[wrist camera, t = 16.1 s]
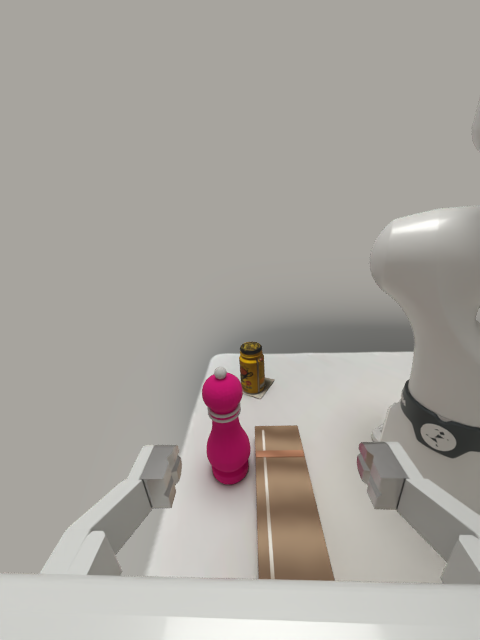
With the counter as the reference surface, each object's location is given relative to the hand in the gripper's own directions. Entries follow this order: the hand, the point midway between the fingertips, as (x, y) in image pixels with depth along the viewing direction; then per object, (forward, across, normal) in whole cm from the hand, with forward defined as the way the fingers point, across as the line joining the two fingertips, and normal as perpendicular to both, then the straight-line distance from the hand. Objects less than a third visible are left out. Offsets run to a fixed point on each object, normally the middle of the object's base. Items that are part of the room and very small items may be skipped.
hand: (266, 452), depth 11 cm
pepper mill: (+21, +6, +29) cm, 36 cm away
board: (+13, -3, +29) cm, 32 cm away
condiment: (+43, +1, +30) cm, 52 cm away
